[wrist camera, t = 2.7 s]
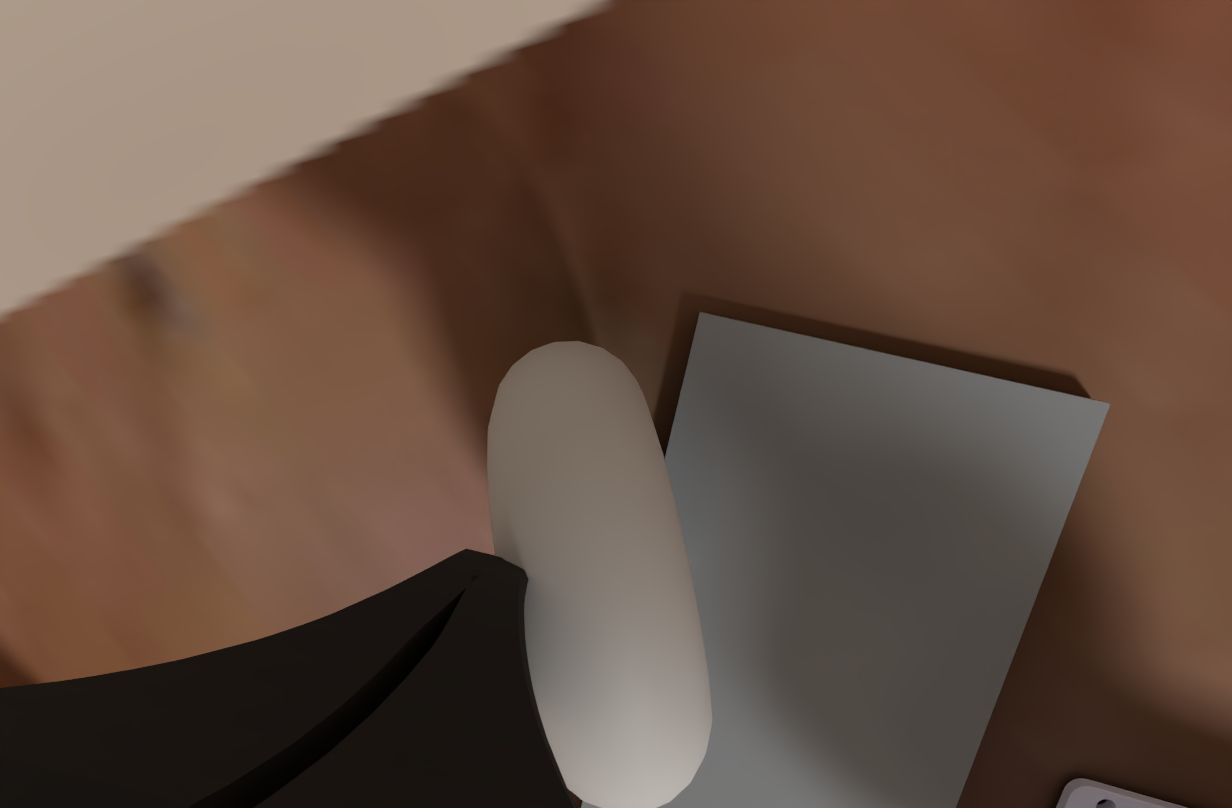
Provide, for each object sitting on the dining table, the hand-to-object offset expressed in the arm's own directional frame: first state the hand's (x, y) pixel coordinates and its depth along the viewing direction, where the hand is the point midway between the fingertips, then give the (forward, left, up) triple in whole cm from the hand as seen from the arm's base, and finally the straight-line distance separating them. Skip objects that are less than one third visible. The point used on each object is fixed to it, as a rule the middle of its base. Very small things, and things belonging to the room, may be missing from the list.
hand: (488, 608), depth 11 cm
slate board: (-8, +6, -10) cm, 13 cm away
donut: (0, +1, -9) cm, 9 cm away
